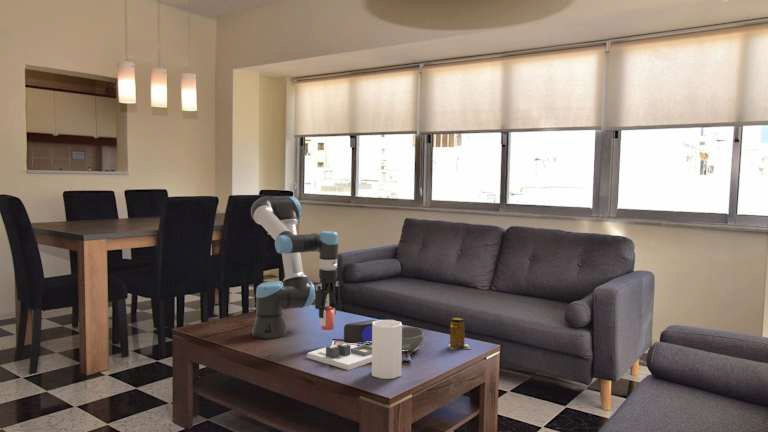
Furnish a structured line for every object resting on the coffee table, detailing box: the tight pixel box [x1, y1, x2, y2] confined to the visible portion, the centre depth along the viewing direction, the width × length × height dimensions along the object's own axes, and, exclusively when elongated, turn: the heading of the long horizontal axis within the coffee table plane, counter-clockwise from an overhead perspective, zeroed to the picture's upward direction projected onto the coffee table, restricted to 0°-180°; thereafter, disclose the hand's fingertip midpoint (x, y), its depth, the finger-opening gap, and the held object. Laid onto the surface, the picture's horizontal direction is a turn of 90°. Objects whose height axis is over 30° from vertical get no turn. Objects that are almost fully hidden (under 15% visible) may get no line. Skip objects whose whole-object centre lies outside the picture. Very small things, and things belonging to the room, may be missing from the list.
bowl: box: [402, 326, 425, 352], centre depth 233 cm, size 18×18×8 cm
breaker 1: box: [326, 345, 339, 358], centre depth 216 cm, size 4×3×4 cm
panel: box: [306, 341, 372, 371], centre depth 222 cm, size 22×20×4 cm
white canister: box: [371, 319, 403, 380], centre depth 203 cm, size 11×11×18 cm
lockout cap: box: [321, 305, 335, 331], centre depth 236 cm, size 5×5×9 cm
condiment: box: [448, 317, 471, 350], centre depth 238 cm, size 7×8×12 cm
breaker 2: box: [338, 344, 350, 356], centre depth 219 cm, size 4×3×4 cm
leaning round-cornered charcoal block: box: [343, 319, 377, 343], centre depth 241 cm, size 16×5×9 cm, turn 125°
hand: (327, 323), depth 236 cm, fingers closed on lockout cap, 5 cm apart
